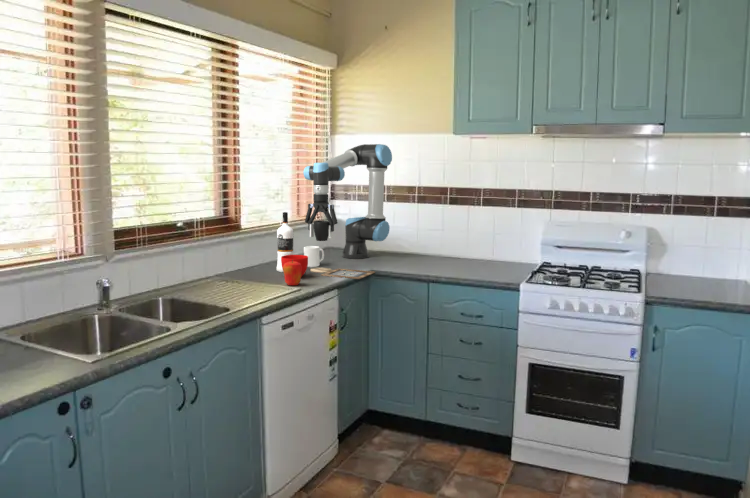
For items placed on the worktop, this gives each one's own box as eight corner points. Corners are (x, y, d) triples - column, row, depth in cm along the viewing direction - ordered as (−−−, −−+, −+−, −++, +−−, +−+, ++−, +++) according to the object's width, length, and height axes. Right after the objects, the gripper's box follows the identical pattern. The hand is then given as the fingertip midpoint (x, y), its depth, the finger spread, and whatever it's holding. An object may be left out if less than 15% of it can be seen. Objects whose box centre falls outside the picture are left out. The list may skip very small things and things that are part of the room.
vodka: (298, 271, 318) (298, 212, 314) (284, 273, 311) (284, 213, 307) (286, 268, 324) (286, 211, 320) (272, 271, 317) (271, 212, 313)
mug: (322, 238, 325) (322, 219, 323) (332, 240, 314) (332, 222, 313) (307, 238, 321) (307, 220, 319) (317, 241, 310) (317, 222, 309)
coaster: (317, 268, 327) (316, 266, 327) (335, 269, 322) (335, 268, 322) (306, 271, 317) (306, 270, 317) (325, 273, 312) (325, 272, 312)
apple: (280, 284, 285) (279, 258, 283) (296, 282, 290) (296, 257, 288) (288, 287, 278) (288, 261, 276) (305, 285, 283) (305, 259, 281)
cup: (301, 265, 334) (300, 246, 333) (319, 263, 342) (319, 244, 340) (309, 267, 328) (309, 248, 326) (328, 265, 335) (328, 246, 334)
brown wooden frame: (338, 269, 324) (338, 268, 324) (375, 272, 316) (375, 271, 316) (320, 275, 307) (320, 274, 307) (359, 279, 299) (359, 278, 298)
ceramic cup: (313, 273, 311) (313, 254, 310) (304, 280, 295) (303, 259, 293) (288, 272, 313) (288, 253, 312) (277, 279, 297) (277, 258, 295)
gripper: (297, 193, 315) (297, 236, 318) (337, 194, 306) (337, 239, 309) (305, 192, 322) (305, 235, 325) (344, 193, 313) (344, 237, 316)
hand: (321, 237), depth 317 cm, fingers closed on mug, 10 cm apart
